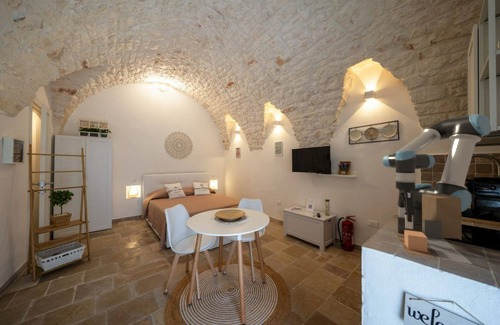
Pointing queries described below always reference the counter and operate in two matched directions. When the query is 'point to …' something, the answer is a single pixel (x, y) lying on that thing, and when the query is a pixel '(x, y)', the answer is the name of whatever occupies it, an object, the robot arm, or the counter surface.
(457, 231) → the wooden block
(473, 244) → the counter surface
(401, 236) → the walnut strip
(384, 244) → the counter surface
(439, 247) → the grey l-shaped block
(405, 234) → the terracotta cube
